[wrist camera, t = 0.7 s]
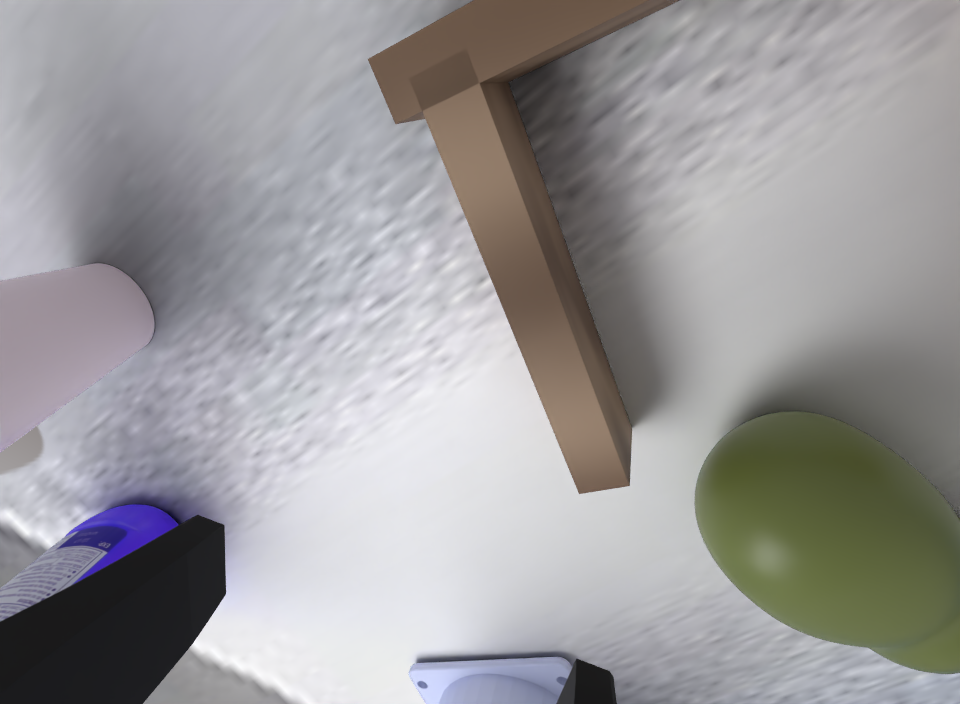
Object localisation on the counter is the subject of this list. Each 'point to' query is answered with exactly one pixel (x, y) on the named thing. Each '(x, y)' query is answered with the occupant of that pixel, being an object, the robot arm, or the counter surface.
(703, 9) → the counter surface
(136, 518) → the bottle
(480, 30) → the walnut frame
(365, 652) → the counter surface
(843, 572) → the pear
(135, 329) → the smoothie
